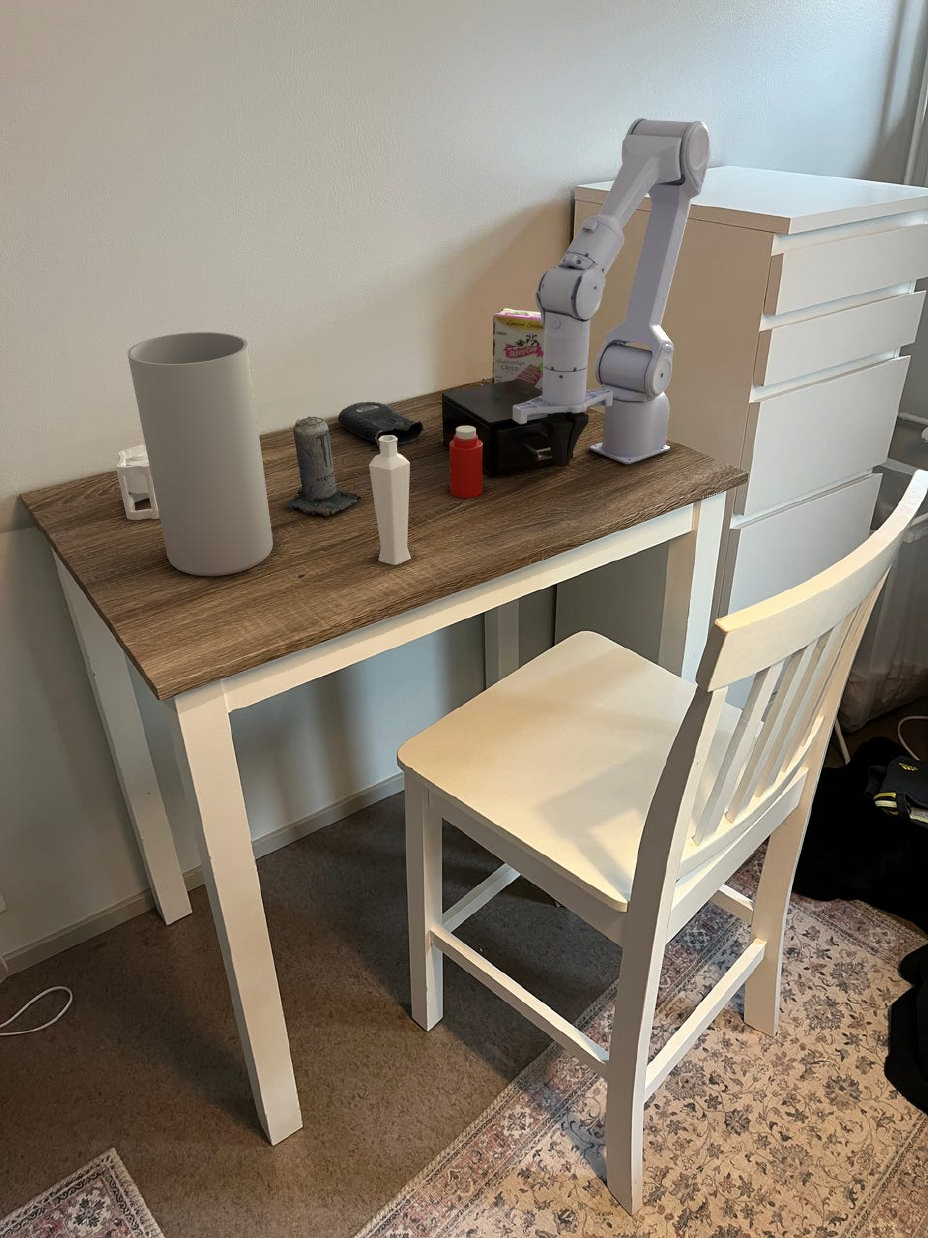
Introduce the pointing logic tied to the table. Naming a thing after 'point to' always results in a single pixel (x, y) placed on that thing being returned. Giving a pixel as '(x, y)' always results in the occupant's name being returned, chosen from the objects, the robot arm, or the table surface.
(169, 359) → the cylinder vase
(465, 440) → the sauce bottle
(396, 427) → the black crumpled pouch
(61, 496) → the table surface
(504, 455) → the drawer
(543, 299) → the robot arm
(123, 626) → the table surface
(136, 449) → the white hollow box frame
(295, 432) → the beverage can
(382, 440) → the white faceted vase
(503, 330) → the candy bar box
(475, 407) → the cabinet
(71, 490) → the table surface
